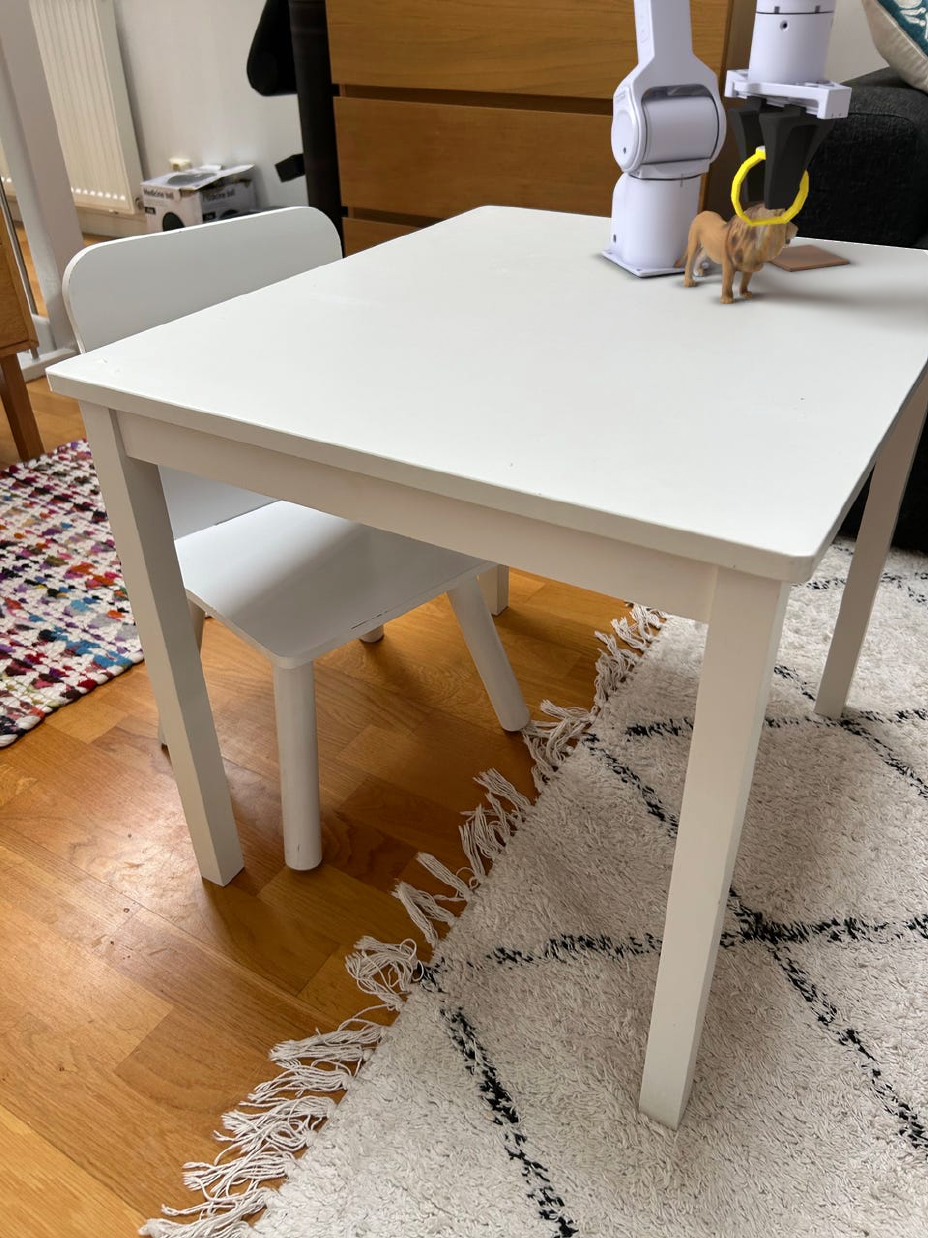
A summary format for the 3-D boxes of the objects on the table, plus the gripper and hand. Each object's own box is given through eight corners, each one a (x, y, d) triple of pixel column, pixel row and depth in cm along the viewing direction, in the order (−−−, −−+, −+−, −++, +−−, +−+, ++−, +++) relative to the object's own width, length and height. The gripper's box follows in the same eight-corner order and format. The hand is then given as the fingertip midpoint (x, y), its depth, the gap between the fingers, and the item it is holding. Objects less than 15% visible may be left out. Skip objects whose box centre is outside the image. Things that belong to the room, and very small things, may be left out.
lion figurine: (794, 305, 88) (811, 201, 83) (751, 316, 86) (766, 209, 81) (687, 269, 99) (697, 175, 94) (647, 278, 97) (654, 182, 92)
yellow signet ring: (796, 219, 82) (809, 142, 79) (805, 227, 80) (818, 148, 76) (725, 221, 82) (735, 144, 79) (732, 229, 80) (742, 150, 76)
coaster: (752, 254, 102) (752, 251, 102) (809, 247, 104) (810, 244, 104) (789, 271, 97) (789, 268, 97) (849, 263, 98) (849, 260, 98)
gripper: (700, 9, 77) (683, 191, 85) (802, 19, 66) (771, 228, 73) (778, 5, 79) (754, 184, 86) (891, 14, 67) (851, 219, 75)
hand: (767, 204), depth 80 cm, fingers closed on yellow signet ring, 2 cm apart
